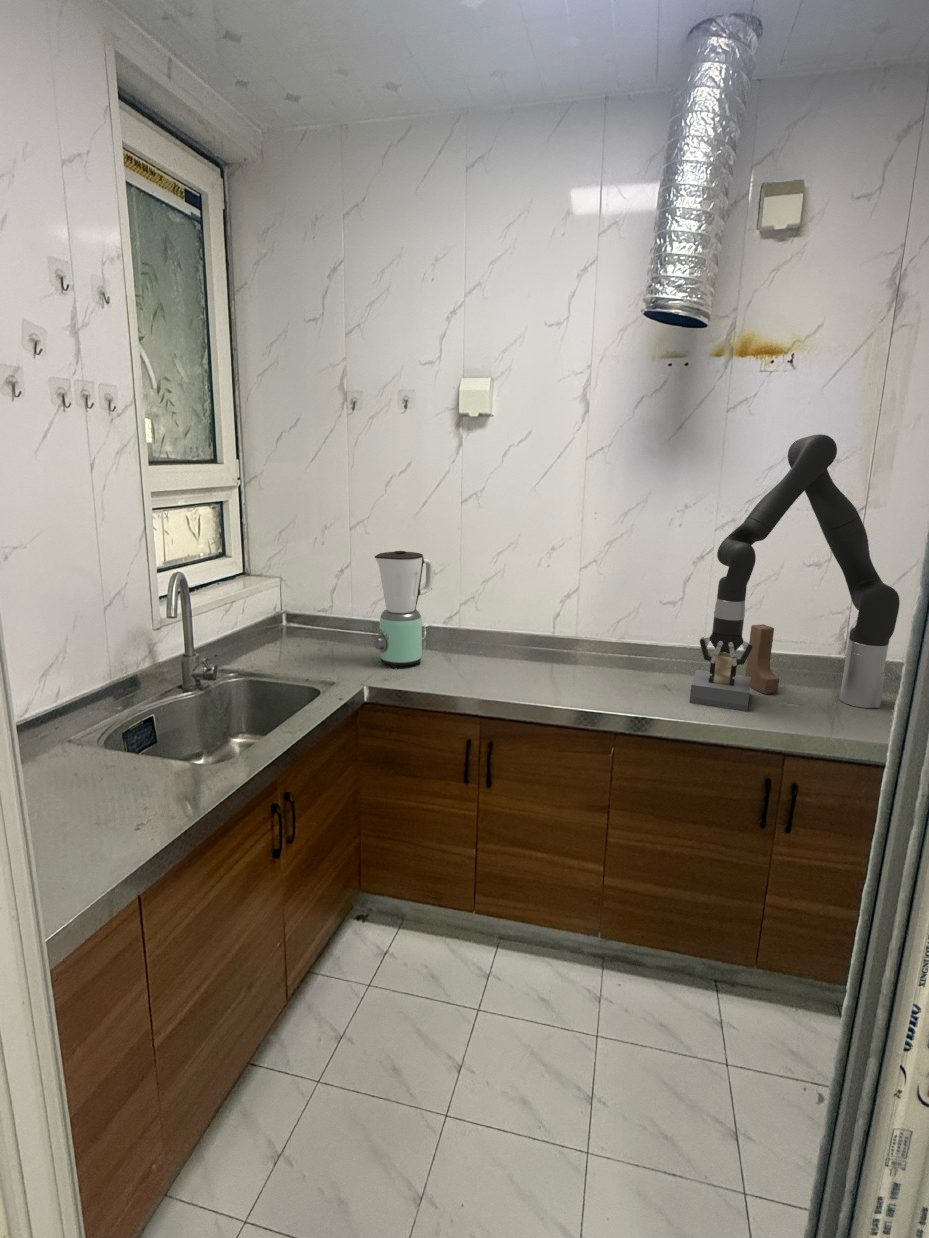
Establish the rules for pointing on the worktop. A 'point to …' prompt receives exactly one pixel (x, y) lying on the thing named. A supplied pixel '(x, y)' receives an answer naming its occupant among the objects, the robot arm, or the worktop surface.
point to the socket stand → (720, 691)
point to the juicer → (401, 607)
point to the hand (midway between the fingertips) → (722, 676)
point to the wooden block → (761, 660)
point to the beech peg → (723, 668)
